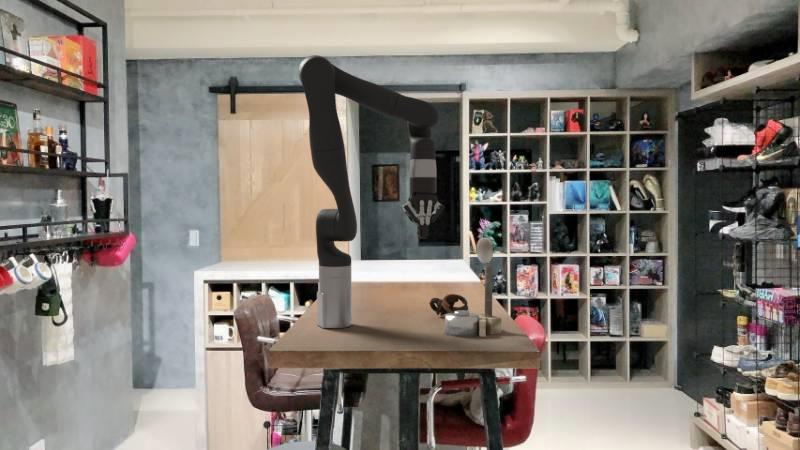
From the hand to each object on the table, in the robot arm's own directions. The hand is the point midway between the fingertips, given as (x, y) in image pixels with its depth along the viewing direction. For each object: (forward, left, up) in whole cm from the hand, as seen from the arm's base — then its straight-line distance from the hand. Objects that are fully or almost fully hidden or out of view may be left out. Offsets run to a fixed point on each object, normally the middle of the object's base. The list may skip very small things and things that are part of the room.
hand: (423, 238), depth 179 cm
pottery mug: (+13, +10, -25) cm, 30 cm away
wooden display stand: (+12, -12, -25) cm, 30 cm away
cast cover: (+6, -12, -25) cm, 28 cm away
